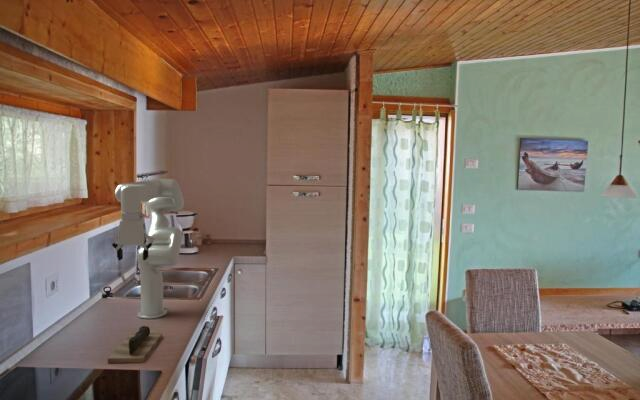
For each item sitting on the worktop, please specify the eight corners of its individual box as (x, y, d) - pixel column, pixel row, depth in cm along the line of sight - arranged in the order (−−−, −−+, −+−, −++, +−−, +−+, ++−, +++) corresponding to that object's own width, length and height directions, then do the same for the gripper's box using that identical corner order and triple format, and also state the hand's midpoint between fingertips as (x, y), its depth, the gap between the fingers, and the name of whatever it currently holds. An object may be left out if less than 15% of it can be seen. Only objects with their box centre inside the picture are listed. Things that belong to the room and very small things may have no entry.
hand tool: (139, 335, 186) (139, 324, 185) (150, 335, 186) (149, 323, 186) (121, 355, 167) (121, 342, 167) (133, 355, 167) (132, 342, 167)
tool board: (131, 337, 188) (131, 333, 188) (162, 336, 189) (162, 333, 189) (107, 362, 164) (107, 358, 164) (143, 362, 165) (143, 357, 165)
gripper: (156, 215, 192) (157, 257, 194) (113, 215, 191) (114, 257, 193) (151, 218, 185) (152, 261, 186) (105, 218, 184) (107, 261, 185)
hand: (132, 259), depth 190 cm, fingers open, 9 cm apart
